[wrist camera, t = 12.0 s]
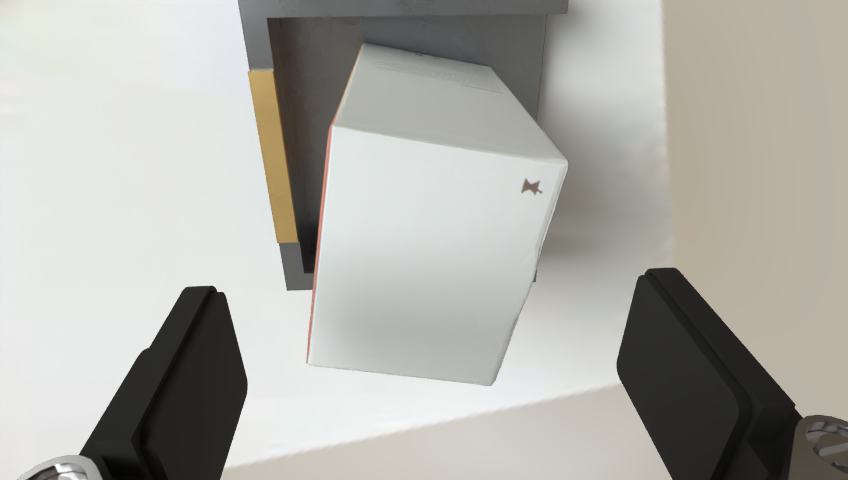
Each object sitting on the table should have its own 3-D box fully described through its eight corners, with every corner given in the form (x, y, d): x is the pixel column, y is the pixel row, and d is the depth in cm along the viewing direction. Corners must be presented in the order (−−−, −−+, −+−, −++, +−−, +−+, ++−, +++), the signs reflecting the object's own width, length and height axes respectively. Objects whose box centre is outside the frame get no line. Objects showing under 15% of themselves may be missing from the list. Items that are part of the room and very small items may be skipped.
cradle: (260, -16, 23) (233, -10, 19) (544, -19, 24) (572, -15, 20) (299, 251, 30) (285, 293, 26) (519, 244, 30) (537, 284, 27)
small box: (360, 40, 23) (326, 117, 12) (493, 65, 24) (579, 159, 13) (341, 198, 27) (302, 371, 16) (457, 215, 28) (498, 391, 17)
